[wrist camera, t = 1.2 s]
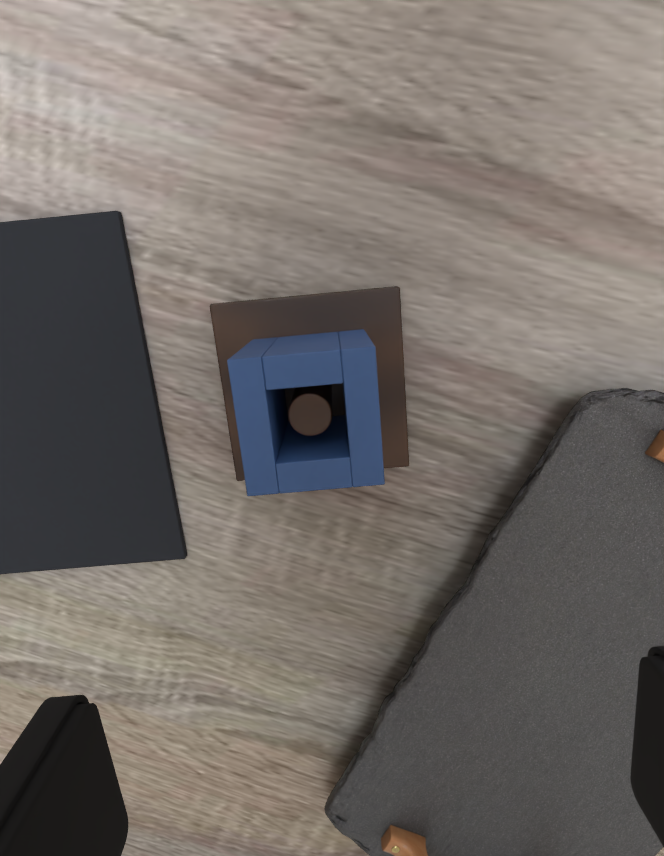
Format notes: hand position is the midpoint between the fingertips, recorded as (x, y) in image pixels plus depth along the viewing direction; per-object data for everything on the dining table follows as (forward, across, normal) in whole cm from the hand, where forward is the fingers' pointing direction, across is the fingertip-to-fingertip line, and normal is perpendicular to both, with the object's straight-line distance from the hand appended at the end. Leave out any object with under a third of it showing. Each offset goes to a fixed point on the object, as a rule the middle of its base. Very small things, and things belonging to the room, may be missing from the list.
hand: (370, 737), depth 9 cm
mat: (+22, +18, -2) cm, 28 cm away
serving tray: (+22, -14, +19) cm, 32 cm away
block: (+21, +1, -2) cm, 21 cm away
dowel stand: (+22, +1, -2) cm, 22 cm away
